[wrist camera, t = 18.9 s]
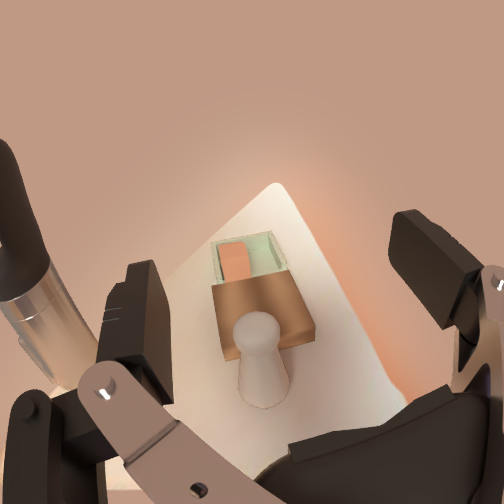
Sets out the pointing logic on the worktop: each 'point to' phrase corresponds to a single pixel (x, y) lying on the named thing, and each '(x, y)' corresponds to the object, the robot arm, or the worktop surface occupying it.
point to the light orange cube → (235, 262)
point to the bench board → (263, 309)
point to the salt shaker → (260, 360)
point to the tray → (254, 255)
